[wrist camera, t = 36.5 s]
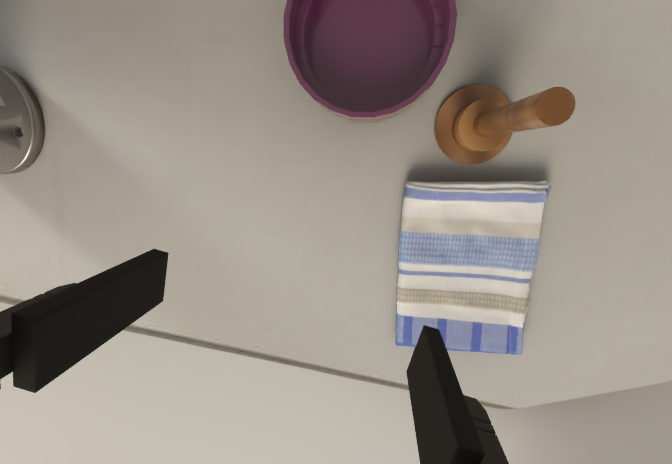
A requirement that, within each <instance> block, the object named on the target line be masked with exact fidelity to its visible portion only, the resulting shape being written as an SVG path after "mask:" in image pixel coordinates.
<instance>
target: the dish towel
mask: <svg viewBox="0 0 672 464" xmlns="http://www.w3.org/2000/svg"><path fill="white" fill-rule="evenodd" d="M550 188H551V186H550V185H548V184H547V181H546V180H542V181H538V182H531V181H499V182H421V181H408V182H407V183H405V190H404V201H403V206H402V220H401V229H400V237H399V275H398V285H397V320H396V345H397V346H411V347H416V345H417V342H418V339H419V336H420V334H421V331H422V328H423V325H426V326H429V327H433V328H436V329H439V330H440V333H441V336H442V338H443V341H444V344H445V347H446V349H447V350H457V351H472V352H487V353H503V354H521V353H522V351H523V331H524V321H525V317H526V312H527V309H528V305H529V299H530V280H531V276H532V273H533V271H534V268H535V265H536V261H537V255H538V249H539V242H540V230H541V224H542V215H543V210H544V204H545V201H546V200H547V197H548V193H549V190H550Z"/></svg>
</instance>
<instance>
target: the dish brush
mask: <svg viewBox="0 0 672 464" xmlns="http://www.w3.org/2000/svg"><path fill="white" fill-rule="evenodd" d="M574 108H575V98H574V96H573V94H572V93H571V92H570V91H569V90H568V89H566V88H563V87H554V88H551V89H548V90H545V91H542V92H540V93H537V94H534V95H532V96H529V97H526V98H524V99H521V100H518V101H516V102H513V103H510V104H508V105H504V104H503V103H502V102H500V101H498V100H496V99H491V98H485V99H480V100H477V101H475V102H473V103H471V104H469V105H468V106H466V107H465V108H463V109H462V110H461V111H460V112H459V114H458V115H457V117H456V118H455V120H454V123H453V127H452V134H453V137H454V139H455V141H456V143H457V144H458V145H460V146H461V147H463V148H464V149H466V150H469V151H488V150H491V149H494V148H496V147H497V146H499V145H500V144H501V143H502V142H503V141H504V140H505V139H506V138H507V136H508V134H509V133H512V132H519V131H525V130H531V129H538V128H544V127H551V126H557V125H560V124H562V123H564V122H565V121H567V120H568V119H569V118H570V116H571V115H572V113H573V111H574Z"/></svg>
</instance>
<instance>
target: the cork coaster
mask: <svg viewBox="0 0 672 464" xmlns="http://www.w3.org/2000/svg"><path fill="white" fill-rule="evenodd" d="M485 98H491V99H496V100H498V101H500V102H502V103H503V104H504V105H508V104H510V102H509V100H508V99H507V97H506V96H505V95H504V94H503V93H502V92H500V91H499V90H497V89H495V88H493V87H491V86H487V85H471V86H467V87H464V88H462V89H460V90H458V91H456V92H455V93H453V94H452V95H451V96H450V97H449V98H448V99H447V100H446V101H445V102H444V103H443V104H442V106H441V108H440V109H439V111H438V114H437V117H436V120H435V137H436V141H437V143H438V145H439V147H440V149H441V150H442V152H443V153H444V154H445V155H446V156H448V157H449V158H450V159H452V160H454V161H456V162H459V163H463V164H477V163H482V162H485V161H487V160H489V159H491V158H493V157H495V156H496V155H497V154H498V153H500V152H501V151H502V150H503V148H504V147H505V146H506V145H507V143H508V142H509V140H510V138H511V135H512V133H509V134H508V136H507V138H506V139H505V140H504V141H503V142H502V143H501V144H500V145H499V146H497V147H496V148H494V149H491V150H488V151H469V150H466V149H464V148H463V147H461V146H460V145H458V144H457V143H456V141H455V139H454V137H453V134H452V127H453V123H454V120H455V118H456V117H457V115H458V114H459V112H460V111H461V110H462V109H463V108H465V107H466V106H468V105H469V104H471V103H473V102H475V101H477V100H480V99H485Z"/></svg>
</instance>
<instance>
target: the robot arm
mask: <svg viewBox="0 0 672 464" xmlns="http://www.w3.org/2000/svg"><path fill="white" fill-rule="evenodd" d="M43 138H44V125H43V119H42V114H41V111H40V108H39V105H38V103H37V101H36V99H35V97H34V95H33V93H32V92H31V90H30V89H29V87H28V86H27V85H26V83H25V82H24V81H23V80H22V79H21V78H20V77H19V76H18V75H17V74H16V73H14V72H13V71H12V70H10V69H9V68H7V67H5V66H3V65H1V64H0V174H9V173H17V172H20V171H22V170H24V169H26V168H28V167H29V166H30V165H31V164H32V163H33V162H34V161H35V160H36V158H37V157H38V155H39V153H40V151H41V148H42V144H43ZM167 261H168V253H167V252H164V251H160V250H156V249H153V250H150V251H148V252H146V253H144V254H142V255H139V256H137V257H135V258H133V259H131V260H128V261H126V262H124V263H122V264H119V265H117V266H115V267H113V268H111V269H108V270H106V271H104V272H102V273H100V274H97V275H95V276H93V277H91V278H88V279H86V280H84V281H82V282H80V283H77V284H76V283H72V284H68V285H64V286H59V287H56V288H54V289H52V290H50V291H47V292H45V293H44V294H40V295H38V296H36V297H33V299H29V300H27V301H24V302H22V303H20V304H17V305H15V306H13V307H11V308H8V309H6V310H4V311H1V312H0V379H1V378H3V377H5V376H6V375H8V374H9V373H11V372H13V385H14V387H17V388H21V389H24V390H27V391H30V392H34V393H36V392H37V391H39V390H40V389H41V388H43V387H44V386H45V385H47V384H48V383H50V382H51V381H52V380H54V379H55V378H56V377H58V376H59V375H61V374H62V373H64V372H65V371H66V370H68V369H69V368H70V367H72V366H73V365H75V364H76V363H77V362H79V361H80V360H82V359H83V358H84V357H86V356H87V355H89V354H90V353H91V352H93V351H94V350H96V349H97V348H98V347H100V346H101V345H102V344H104V343H105V342H107V341H108V340H109V339H111V338H112V337H114V336H115V335H116V334H118V333H119V332H121V331H122V330H123V329H125V328H126V327H128V326H129V325H130V324H132V323H133V322H134V321H136V320H137V319H139V318H140V317H141V316H143V315H144V314H146V313H147V312H148V311H150V310H151V309H153V308H154V307H155V306H157V305H158V304H160V303H161V302H162V301H163V296H164V287H165V279H166V270H167ZM407 378H408V385H409V391H410V398H411V405H412V411H413V418H414V425H415V431H416V438H417V445H418V452H419V457H420V464H509V463H508V461H507V459H506V456H505V454H504V452H503V449H502V447H501V445H500V442H499V440H498V438H497V436H496V435H495V431H494V428H493V426H492V425H491V421H490V419H489V417H488V414H487V412H486V410H485V409H484V408H483V407H482V405H481V404H480V403H479V402H478V400H477V399H475V398H471V397H468V396H465V395H463V393H462V390H461V388H460V385H459V382H458V379H457V377H456V374H455V371H454V369H453V366H452V363H451V360H450V358H449V355H448V352H447V349H446V347H445V344H444V341H443V338H442V336H441V333H440V330H439V329H436V328H433V327H429V326H426V325H423V328H422V331H421V334H420V336H419V339H418V342H417V345H416V347H415V350H414V353H413V355H412V358H411V361H410V364H409V366H408V369H407ZM0 388H1V387H0Z"/></svg>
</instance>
